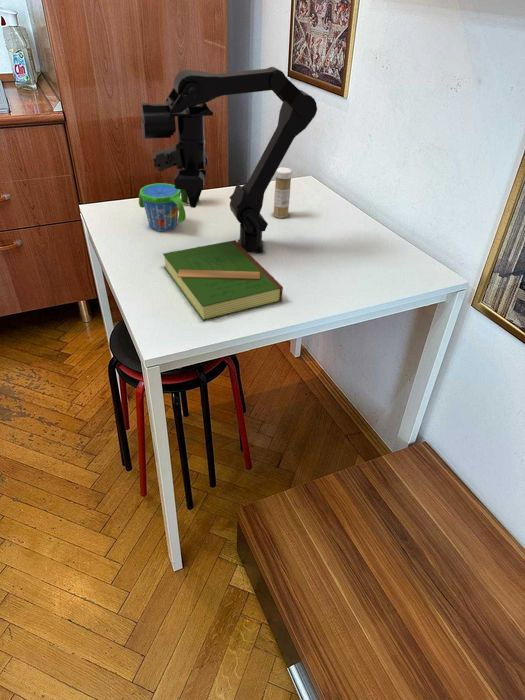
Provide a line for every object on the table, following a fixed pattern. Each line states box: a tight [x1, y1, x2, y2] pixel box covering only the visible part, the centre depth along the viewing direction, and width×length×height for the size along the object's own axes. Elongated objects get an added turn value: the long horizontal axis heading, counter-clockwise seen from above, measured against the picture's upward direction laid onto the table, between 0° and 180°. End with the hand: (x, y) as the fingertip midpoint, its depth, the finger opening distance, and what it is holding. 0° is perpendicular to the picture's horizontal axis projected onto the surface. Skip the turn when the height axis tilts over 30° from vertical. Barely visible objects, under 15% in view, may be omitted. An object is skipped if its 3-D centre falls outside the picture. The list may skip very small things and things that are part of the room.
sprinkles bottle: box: [272, 166, 293, 219], centre depth 144 cm, size 5×5×13 cm
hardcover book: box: [162, 239, 284, 322], centre depth 115 cm, size 25×19×4 cm
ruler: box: [178, 269, 260, 280], centre depth 112 cm, size 3×18×1 cm, turn 91°
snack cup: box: [138, 182, 187, 232], centre depth 136 cm, size 16×10×10 cm
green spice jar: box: [179, 168, 200, 207], centre depth 149 cm, size 5×5×12 cm
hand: (193, 205), depth 120 cm, fingers closed
